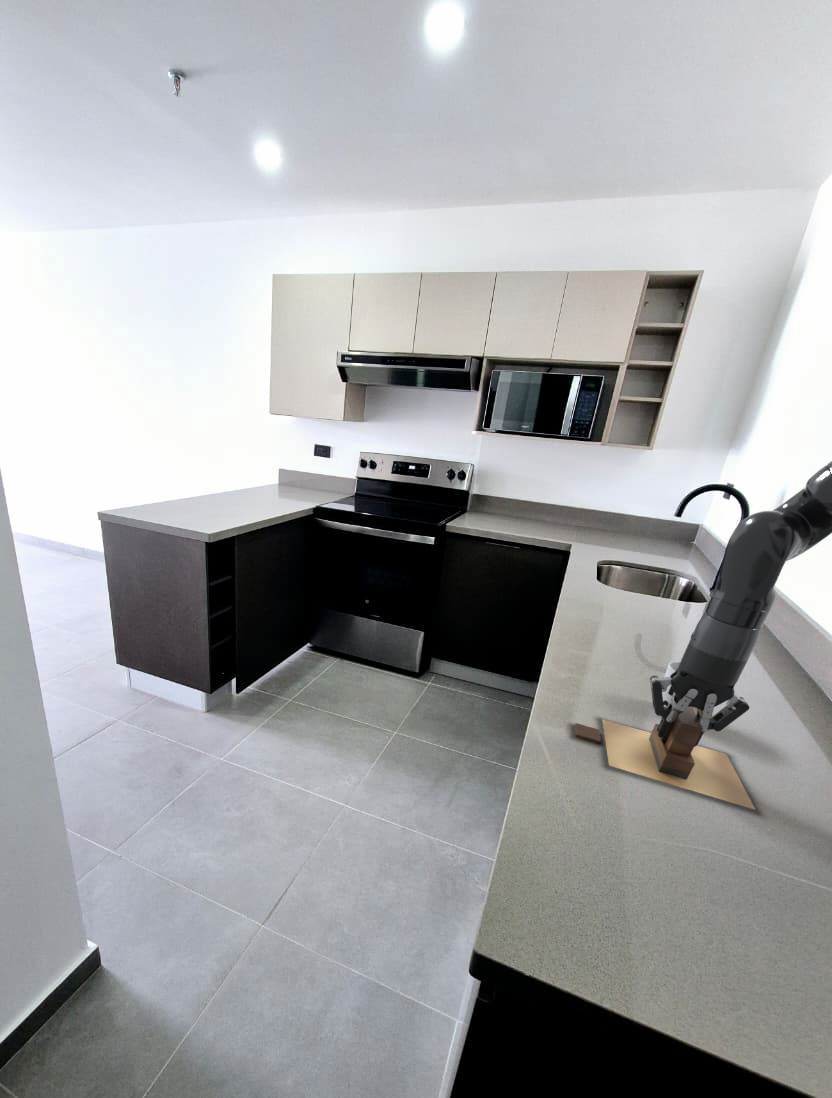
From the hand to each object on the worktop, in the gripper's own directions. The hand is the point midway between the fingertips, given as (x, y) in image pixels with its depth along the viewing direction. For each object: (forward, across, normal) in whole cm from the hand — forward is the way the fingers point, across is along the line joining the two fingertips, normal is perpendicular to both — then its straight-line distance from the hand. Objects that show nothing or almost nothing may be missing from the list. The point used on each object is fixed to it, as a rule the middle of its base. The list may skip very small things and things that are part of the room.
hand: (674, 742), depth 81 cm
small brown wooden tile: (+4, -12, 0) cm, 13 cm away
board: (+4, 0, 0) cm, 4 cm away
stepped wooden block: (+3, 0, 0) cm, 3 cm away
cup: (+5, +4, +19) cm, 20 cm away
